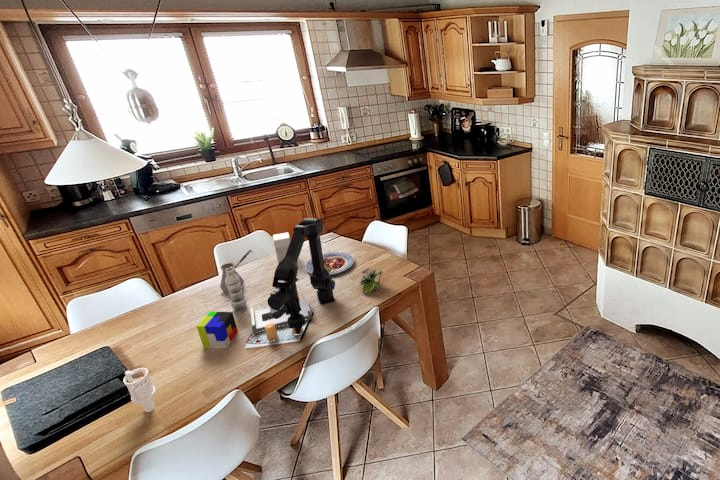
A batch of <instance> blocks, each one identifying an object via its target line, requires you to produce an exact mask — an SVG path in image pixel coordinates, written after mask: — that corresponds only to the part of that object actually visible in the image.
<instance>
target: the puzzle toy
mask: <svg viewBox="0 0 720 480" xmlns="http://www.w3.org/2000/svg"><path fill="white" fill-rule="evenodd" d="M196 329H197V333H198V334H199V337H200V341H201V345H202V347H203V348H210V349H211V348H218V349H227V348H228V346H229V345H230V344H231V342H232V341H234V339H235V337H236V336H237V335H238V333H239V331H238V326H237V324H236V319H235V315H234V312H233V311H209V312H208V313H207V314H206V315H205V316H204V318H203V319H201V321H200V322H199V323H198V324H197V325H196Z"/></svg>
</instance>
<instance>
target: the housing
mask: <svg viewBox="0 0 720 480" xmlns="http://www.w3.org/2000/svg"><path fill="white" fill-rule="evenodd" d="M301 298H302V299H299V302H300V307H301V311H300V313H299V314H302V315H304V318H305V319H309V320H312V319H313V317H312V312H311V309H310V306H309V303H308V300H307V297H306V295H305V294H303V295H302V297H301ZM270 317H273V315H272V314H271V311H270V306H269V307H266V308H263V309H262V308H261V309H257V310H255V309H254V307H250V318H251V328H252V330H253V331H252V332H253V334H254V333H255V334H257V333H256V332H259V331H262V330H265V326H266V325H268V324H275V327H278V326H282V325H286V326H288V325H287V324H288V320H287V319H288V318H289V317H290V314H288V315H286V312H285V314H283V316H281V317H280V318H278V319H275V318H271V319H267V320H264V319H266V318H270ZM282 327H283V326H282ZM278 328H279V327H278ZM259 333H260V332H259Z"/></svg>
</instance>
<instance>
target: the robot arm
mask: <svg viewBox="0 0 720 480" xmlns="http://www.w3.org/2000/svg"><path fill="white" fill-rule="evenodd" d="M292 231H293V234H292V235H291V237H290V244H289V247H288V249H287V252H286V255H285V257H284V259H283V260H281V261H280V262H279V264H278V263H277V266H276V268H275V270H274V275H273V281H272V285H271V287H272V288H275V289H274V290H273V291H272V292H270V293H269V294H270V296H269V297H267V301H266V302H267V304H268V306H269V307H270V311H271V314H272V315H273V316H272V319H274V318H275V319H278V318H280V317H281V316H283V314H285V312H286V315H290V317H289V318H288V319H287V320H288V325H287V326H288V327H289V329H292V328H294V329H295V331H296V333H297V334H300V332H301V329H303V326H305V325H306V324H307V323H306V320H305V318H304V315H302V314H299V313H300V311H301V307H300V302H299V300H300V297H299V293H298V288H297V282H298V281H299V278H298V277H297V276H298V271H299V266H298V260H299V258H300V255H301V252H302V248H303V245H304V244H305V240H306V239H307V240H308V244H309V245H308V246H309V253H310V257H311V258H310V259H312V265H313V273H312V274H311V275H309V280H310V285H311V286H312V288H313V290H316V296H317V297H316V299H317V300H318V302H319V303H320V305H324V304H329V303H332V302H335V300H336V299H335V298H334V291H333V290H335V287H336V281H335V280H333V279H332V278H331V275H330V274H329V272H328V271H327V270H326V269H325V267H324V260H323V254H324V253H323V249H322V242H321V236H322V235H323V232H324V223H323V220H322V219H320V218H318V217H317V218H316V217H313V218H312V217H305V218H304V219H303V220H301V221H300V222H297V224H296V225H294V226H293V229H292ZM280 281H281V282H280Z"/></svg>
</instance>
